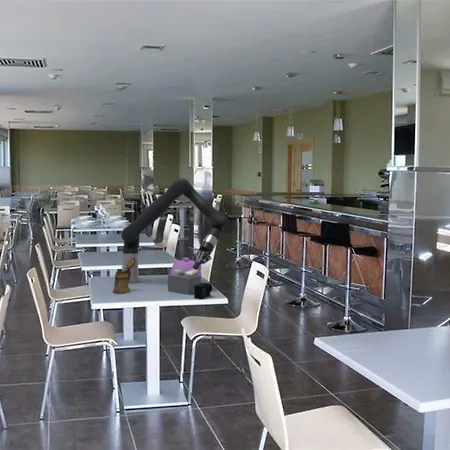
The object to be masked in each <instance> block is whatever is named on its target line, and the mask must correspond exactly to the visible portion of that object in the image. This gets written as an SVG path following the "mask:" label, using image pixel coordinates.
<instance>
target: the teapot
mask: <svg viewBox="0 0 450 450" xmlns="http://www.w3.org/2000/svg"><path fill="white" fill-rule="evenodd" d="M194 264H195V262H194V260H191V259H190V258H189V257H183V258H182V260H175V261H174V262H173V264H172V267H171V270H170V273H169V275H171V274H176V273H178V272H177V271H175V269H179V270H186V271H190V270H192V269H194V268H193V266H194ZM197 270H198V271H199V272H197V273H196V274H195V275H198V276H201V279H203V277H202V264H201V265H200V266H199V268H198V269H197Z"/></svg>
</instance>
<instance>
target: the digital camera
mask: <svg viewBox="0 0 450 450" xmlns="http://www.w3.org/2000/svg"><path fill="white" fill-rule="evenodd" d="M212 291H213V285H212V284H211V283H210V282H201V284H198V285H195V286H194V294H193V295H194V296H193V299H197V300H203V299H205V297H206V298H208V297H210V296H211V293H212ZM207 296H208V297H207Z"/></svg>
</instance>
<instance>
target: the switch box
mask: <svg viewBox="0 0 450 450" xmlns="http://www.w3.org/2000/svg"><path fill="white" fill-rule="evenodd" d="M201 280H202V278H201V276H198V275H192V276H187V275H185V273H184V274H183V273H176V274H171V275H170V274H167V291H168V292H170V293H171V292H172V293H176V294H182V295H187V296H188V295H189V296H191V295H194V286H195V285H198V284H201V283H202V282H201Z"/></svg>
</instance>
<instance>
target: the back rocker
mask: <svg viewBox="0 0 450 450" xmlns="http://www.w3.org/2000/svg"><path fill="white" fill-rule="evenodd" d="M175 271H177V272H178V273H183V274H184V273H186V272H188V271H186V270H179V269H175Z"/></svg>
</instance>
